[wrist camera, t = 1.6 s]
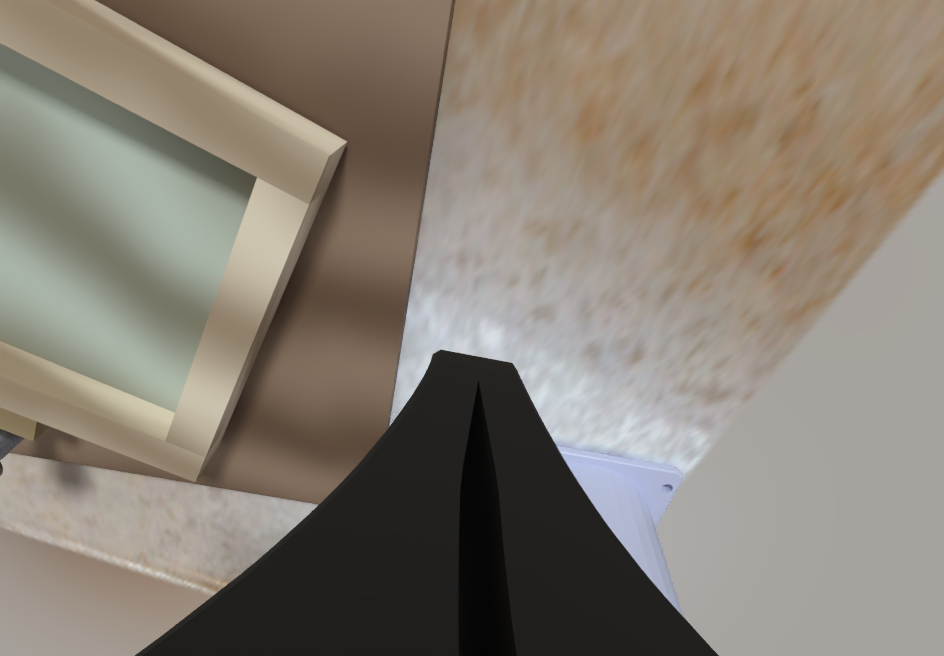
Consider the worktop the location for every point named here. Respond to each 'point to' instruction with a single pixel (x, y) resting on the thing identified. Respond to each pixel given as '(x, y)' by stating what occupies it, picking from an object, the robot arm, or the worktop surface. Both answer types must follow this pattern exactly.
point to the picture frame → (139, 231)
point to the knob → (7, 444)
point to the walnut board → (318, 229)
